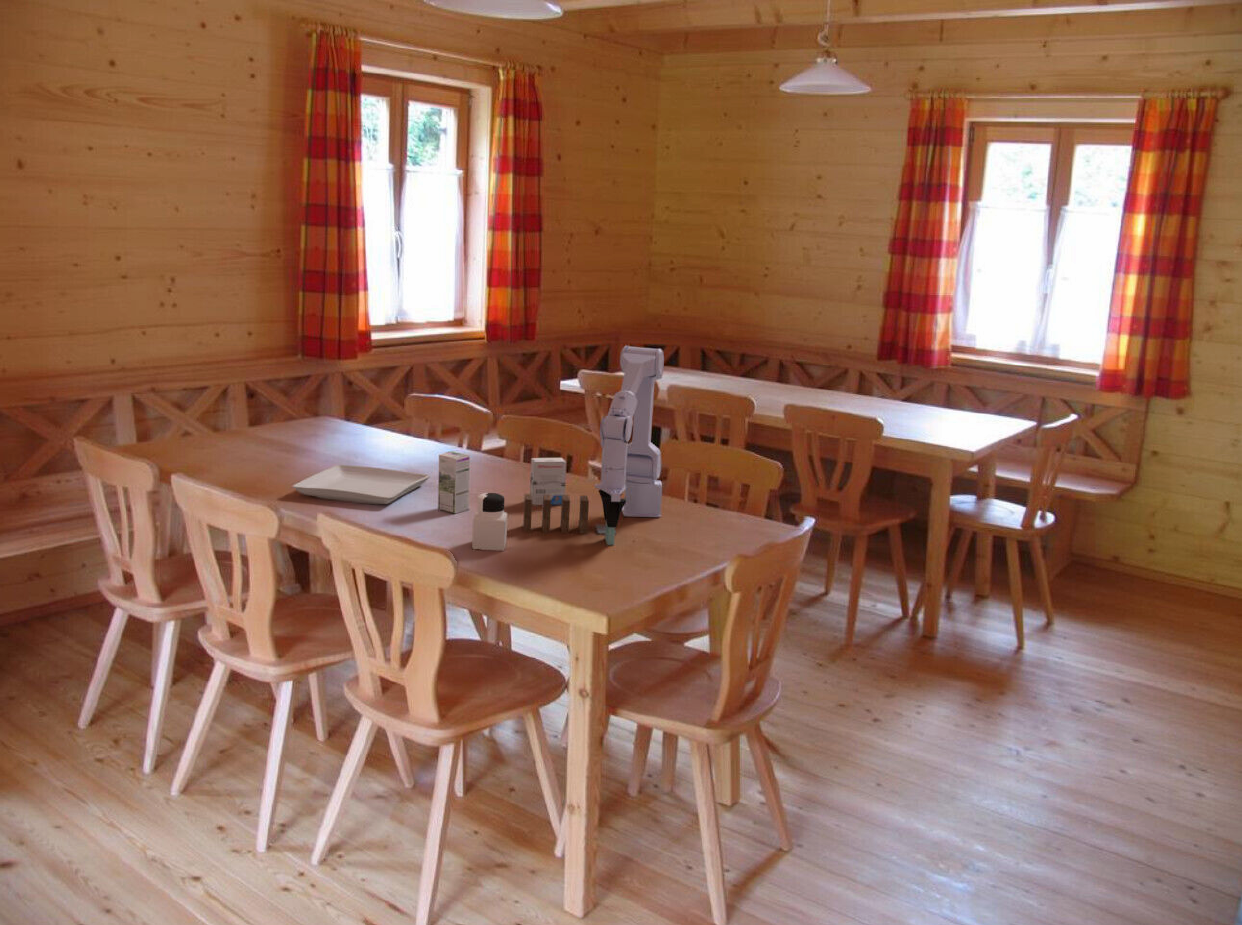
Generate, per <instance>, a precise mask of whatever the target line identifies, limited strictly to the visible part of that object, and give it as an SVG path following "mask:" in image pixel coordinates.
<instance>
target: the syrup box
mask: <svg viewBox="0 0 1242 925" xmlns="http://www.w3.org/2000/svg"><path fill="white" fill-rule="evenodd" d="M470 465H471V456H470V454H469V453H468V454H467V453H462V452H458V451H446V452H443V453H440V454H438V484H437V488H438V490H437V491H438V496H437V499H438V500H437V503H438V504H437V509H438V510H439V511H444V512H446V513H450V514H459V513H463V512H467V511H469V510H470V470H471V468H470V467H471V466H470Z"/></svg>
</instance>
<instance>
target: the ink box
mask: <svg viewBox="0 0 1242 925" xmlns="http://www.w3.org/2000/svg"><path fill="white" fill-rule="evenodd" d="M566 478H567V461H566V460H565V459H564V458H563V457H531V461H530V480H529V481H530V484H529V494H531V495H532V506H543V494H545V495H550V497H551V506H559V505H562V495H566Z"/></svg>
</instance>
